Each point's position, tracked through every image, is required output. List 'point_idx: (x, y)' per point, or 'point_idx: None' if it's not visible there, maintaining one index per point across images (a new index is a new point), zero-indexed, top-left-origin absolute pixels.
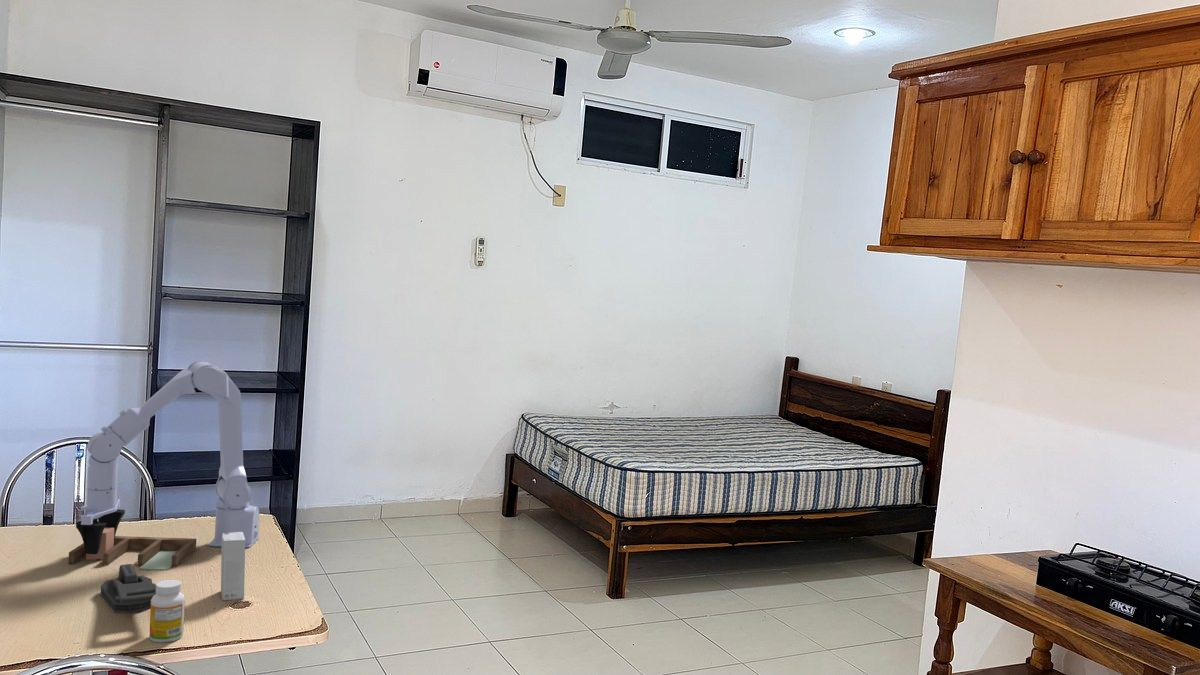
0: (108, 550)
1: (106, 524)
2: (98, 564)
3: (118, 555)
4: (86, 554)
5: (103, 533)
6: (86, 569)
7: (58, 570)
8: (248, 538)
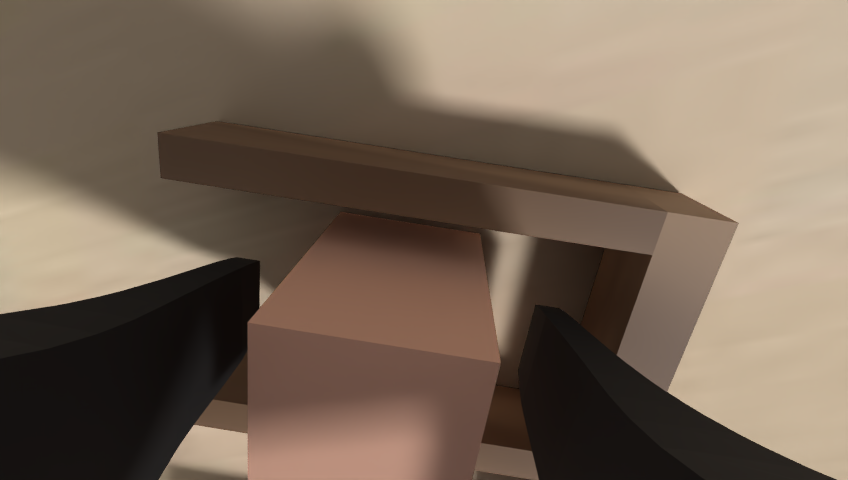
0: None
1: (585, 466)
2: None
3: None
4: (328, 226)
5: (253, 473)
6: (127, 269)
7: (68, 94)
8: None
